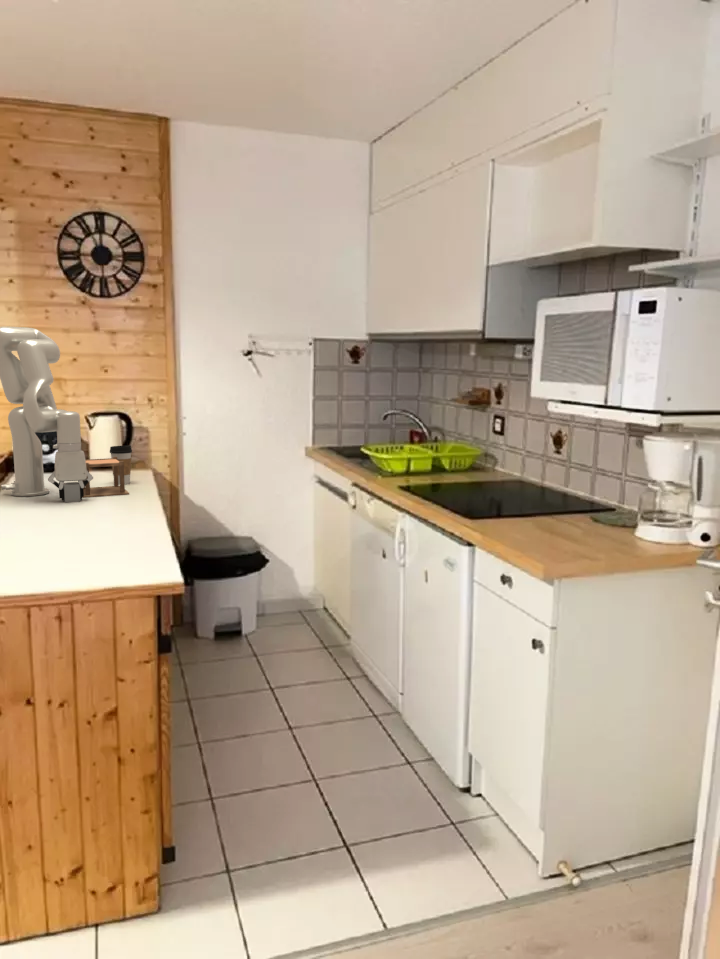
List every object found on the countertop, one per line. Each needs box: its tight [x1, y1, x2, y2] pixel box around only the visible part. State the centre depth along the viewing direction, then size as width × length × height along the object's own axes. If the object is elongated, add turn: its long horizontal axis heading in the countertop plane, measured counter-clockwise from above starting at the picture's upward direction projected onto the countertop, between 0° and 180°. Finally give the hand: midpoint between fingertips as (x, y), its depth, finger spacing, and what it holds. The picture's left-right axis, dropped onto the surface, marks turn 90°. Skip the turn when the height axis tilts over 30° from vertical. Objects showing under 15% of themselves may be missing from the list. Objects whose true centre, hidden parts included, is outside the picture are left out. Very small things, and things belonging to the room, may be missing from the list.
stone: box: [63, 481, 81, 503], centre depth 259 cm, size 5×5×6 cm
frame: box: [82, 457, 130, 499], centre depth 274 cm, size 18×17×12 cm
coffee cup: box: [109, 444, 133, 486], centre depth 294 cm, size 8×8×15 cm
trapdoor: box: [86, 458, 119, 464], centre depth 273 cm, size 18×10×3 cm, turn 117°
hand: (71, 499), depth 259 cm, fingers closed on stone, 5 cm apart
